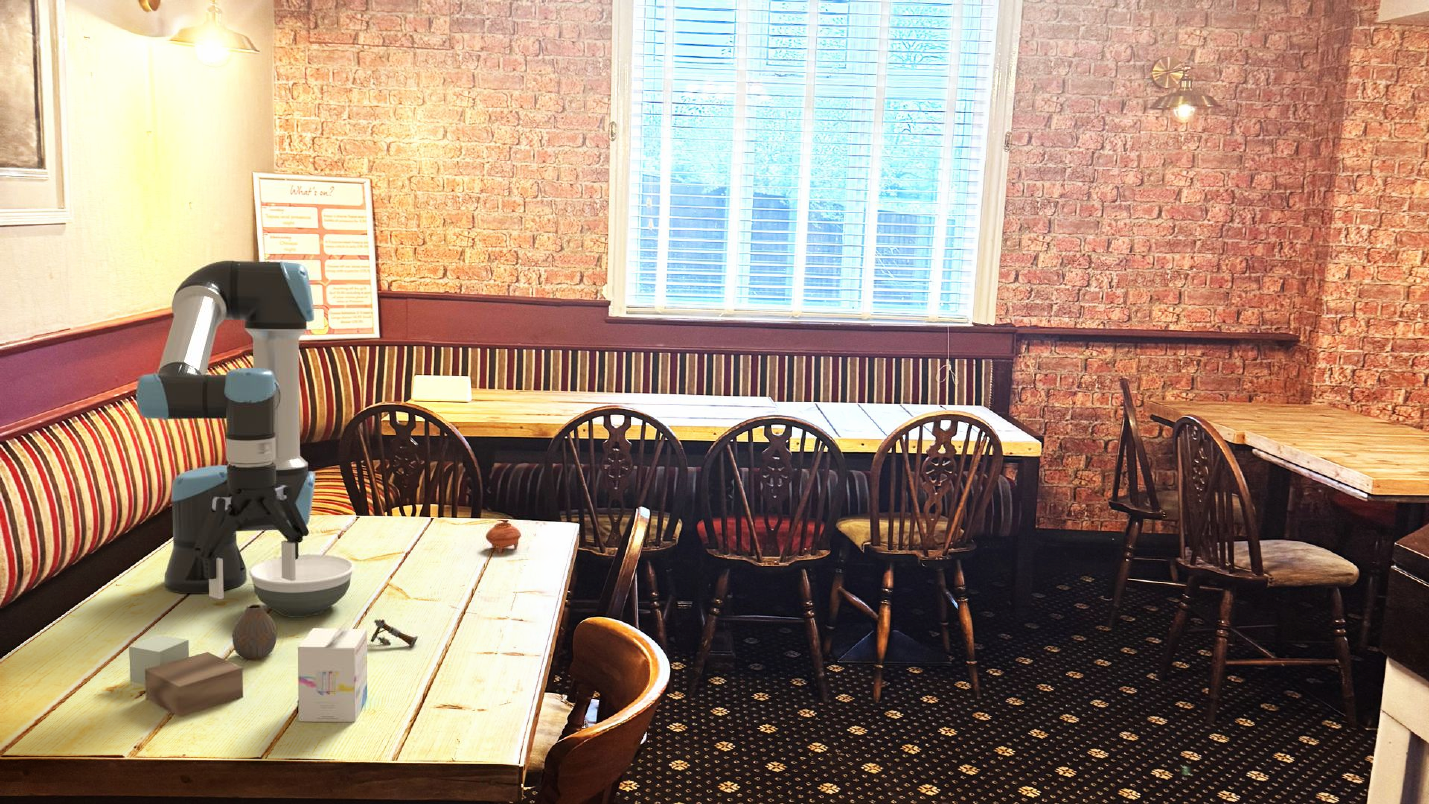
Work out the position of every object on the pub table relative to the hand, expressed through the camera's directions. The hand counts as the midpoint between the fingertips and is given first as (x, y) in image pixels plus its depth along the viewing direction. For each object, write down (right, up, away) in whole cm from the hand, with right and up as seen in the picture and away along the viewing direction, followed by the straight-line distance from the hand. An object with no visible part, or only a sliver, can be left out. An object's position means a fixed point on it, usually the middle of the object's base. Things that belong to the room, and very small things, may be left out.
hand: (253, 588), depth 190 cm
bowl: (-1, -9, +26) cm, 28 cm away
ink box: (+19, -16, -18) cm, 31 cm away
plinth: (-3, -15, -16) cm, 22 cm away
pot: (+28, -3, +72) cm, 78 cm away
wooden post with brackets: (+21, -12, +10) cm, 26 cm away
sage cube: (-11, -13, -9) cm, 19 cm away
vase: (-1, -12, +2) cm, 12 cm away
